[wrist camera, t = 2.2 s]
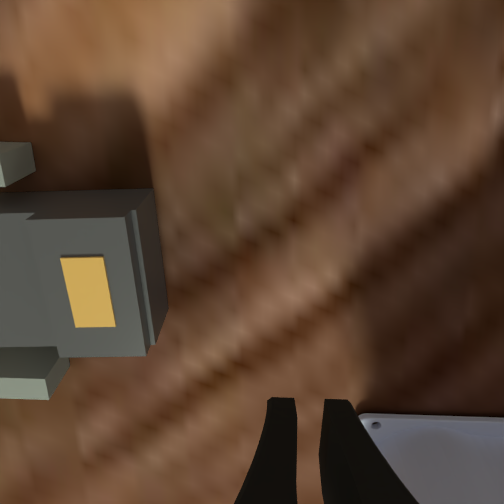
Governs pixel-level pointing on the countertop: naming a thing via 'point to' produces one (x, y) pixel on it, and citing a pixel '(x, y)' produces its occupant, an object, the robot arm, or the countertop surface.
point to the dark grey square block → (81, 272)
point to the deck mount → (26, 358)
